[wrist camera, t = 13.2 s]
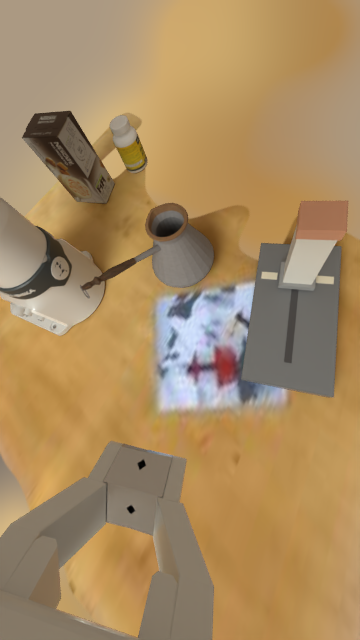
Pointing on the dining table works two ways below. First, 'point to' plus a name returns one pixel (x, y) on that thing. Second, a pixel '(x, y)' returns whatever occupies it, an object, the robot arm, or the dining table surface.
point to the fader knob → (312, 242)
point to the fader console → (293, 327)
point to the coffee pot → (169, 250)
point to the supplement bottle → (128, 144)
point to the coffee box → (69, 156)
